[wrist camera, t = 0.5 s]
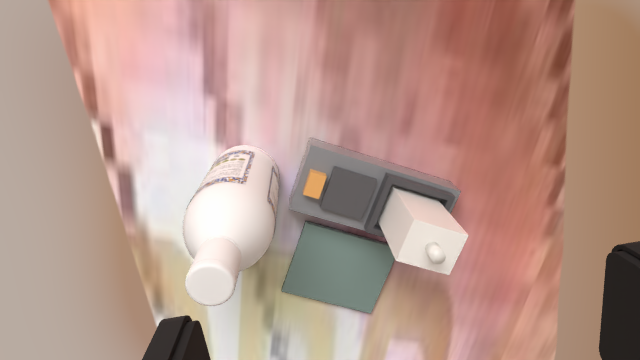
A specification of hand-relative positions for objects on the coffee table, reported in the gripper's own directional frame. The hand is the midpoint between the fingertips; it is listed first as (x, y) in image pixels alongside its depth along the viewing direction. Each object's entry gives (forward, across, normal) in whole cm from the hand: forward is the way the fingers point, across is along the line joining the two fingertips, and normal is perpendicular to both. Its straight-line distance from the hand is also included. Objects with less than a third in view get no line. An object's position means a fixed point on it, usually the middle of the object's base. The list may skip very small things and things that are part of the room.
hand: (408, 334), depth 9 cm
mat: (+34, 0, +18) cm, 39 cm away
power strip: (+34, -4, +9) cm, 35 cm away
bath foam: (+34, +8, +5) cm, 35 cm away
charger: (+31, -8, +11) cm, 33 cm away
